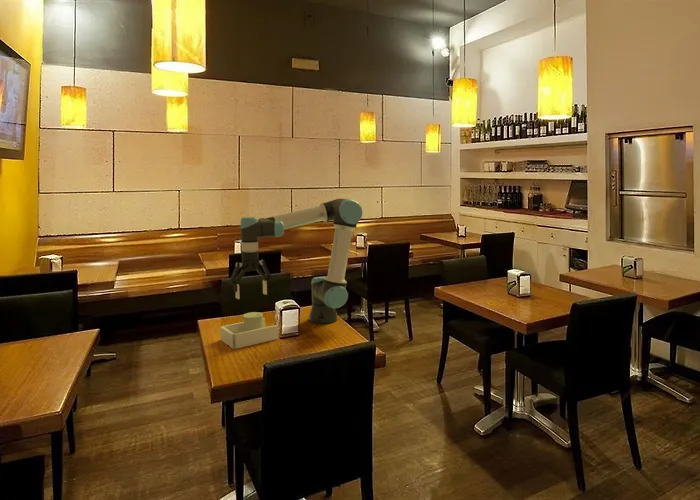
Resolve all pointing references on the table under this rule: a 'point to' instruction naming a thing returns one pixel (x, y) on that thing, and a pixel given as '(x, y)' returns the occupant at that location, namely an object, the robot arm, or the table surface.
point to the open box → (247, 335)
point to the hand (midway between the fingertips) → (251, 296)
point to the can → (253, 321)
